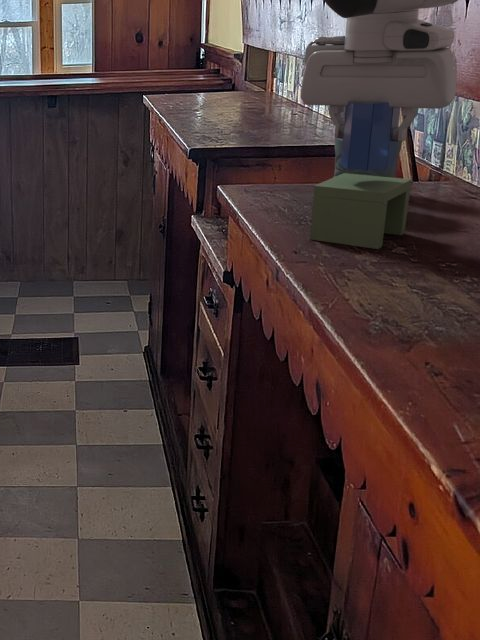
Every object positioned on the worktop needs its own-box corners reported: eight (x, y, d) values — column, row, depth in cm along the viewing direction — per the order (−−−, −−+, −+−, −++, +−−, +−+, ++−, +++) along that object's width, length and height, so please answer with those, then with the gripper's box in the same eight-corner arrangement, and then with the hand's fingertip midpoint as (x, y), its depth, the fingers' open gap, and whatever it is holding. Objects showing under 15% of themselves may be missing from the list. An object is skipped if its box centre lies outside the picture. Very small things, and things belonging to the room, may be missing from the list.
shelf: (404, 233, 127) (411, 179, 124) (378, 249, 121) (384, 192, 118) (338, 224, 134) (343, 173, 131) (309, 239, 127) (314, 185, 124)
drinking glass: (386, 201, 145) (395, 128, 141) (401, 216, 136) (411, 139, 132) (323, 202, 147) (329, 130, 143) (333, 217, 138) (341, 141, 133)
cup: (399, 163, 123) (406, 98, 120) (381, 171, 119) (388, 104, 116) (353, 160, 128) (359, 97, 124) (334, 167, 123) (339, 102, 120)
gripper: (296, 38, 121) (289, 138, 127) (451, 35, 108) (437, 147, 113) (316, 35, 125) (309, 132, 131) (468, 31, 112) (453, 139, 117)
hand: (369, 139), depth 122 cm, fingers closed on cup, 6 cm apart
